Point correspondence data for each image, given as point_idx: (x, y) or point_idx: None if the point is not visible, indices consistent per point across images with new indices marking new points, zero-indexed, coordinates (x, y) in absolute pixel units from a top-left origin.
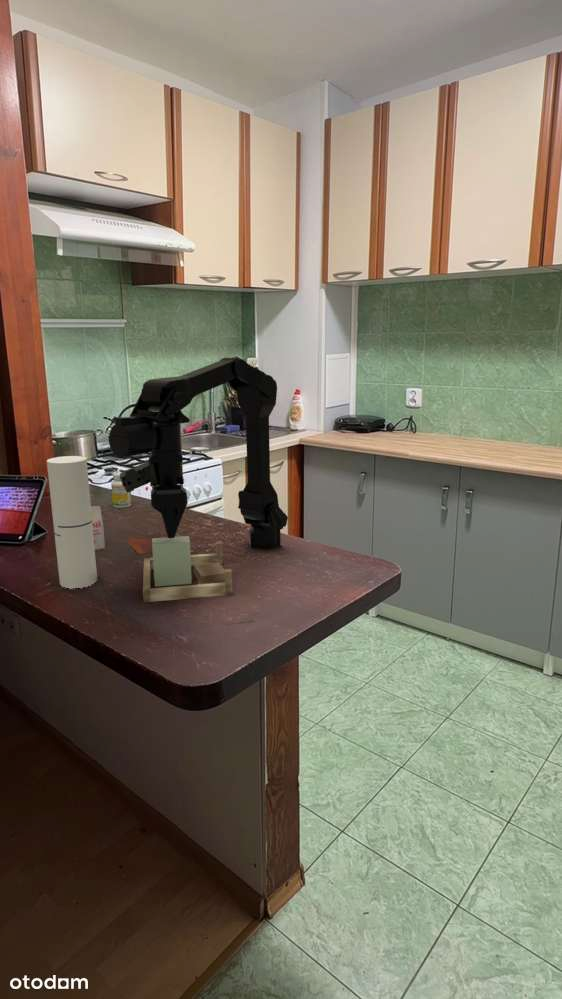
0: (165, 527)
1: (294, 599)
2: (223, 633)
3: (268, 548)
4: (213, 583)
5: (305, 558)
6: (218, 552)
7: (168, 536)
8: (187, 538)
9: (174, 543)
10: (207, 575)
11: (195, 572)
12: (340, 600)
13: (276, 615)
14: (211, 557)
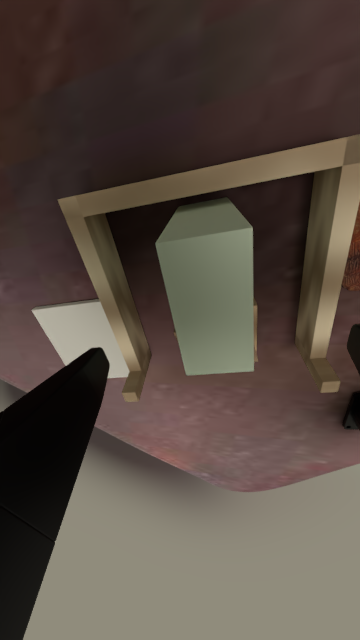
0: (35, 388)
1: (154, 417)
2: (33, 343)
3: (356, 421)
4: (134, 353)
5: (308, 443)
6: (311, 367)
7: (87, 353)
8: (224, 368)
9: (176, 330)
10: (178, 343)
11: None
12: (153, 449)
13: (103, 398)
14: (309, 345)
